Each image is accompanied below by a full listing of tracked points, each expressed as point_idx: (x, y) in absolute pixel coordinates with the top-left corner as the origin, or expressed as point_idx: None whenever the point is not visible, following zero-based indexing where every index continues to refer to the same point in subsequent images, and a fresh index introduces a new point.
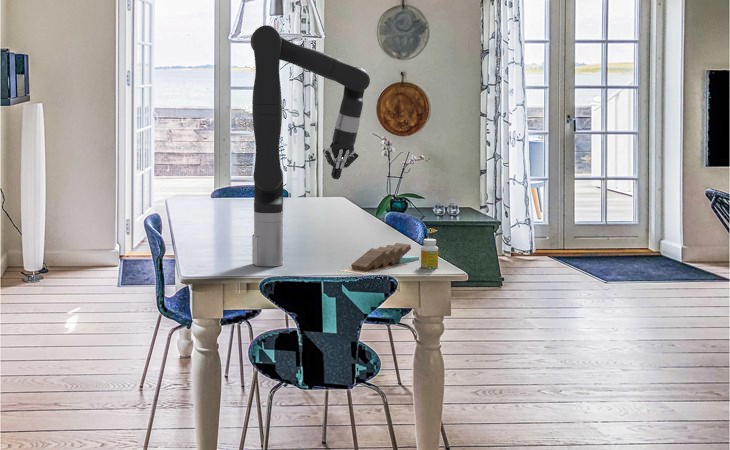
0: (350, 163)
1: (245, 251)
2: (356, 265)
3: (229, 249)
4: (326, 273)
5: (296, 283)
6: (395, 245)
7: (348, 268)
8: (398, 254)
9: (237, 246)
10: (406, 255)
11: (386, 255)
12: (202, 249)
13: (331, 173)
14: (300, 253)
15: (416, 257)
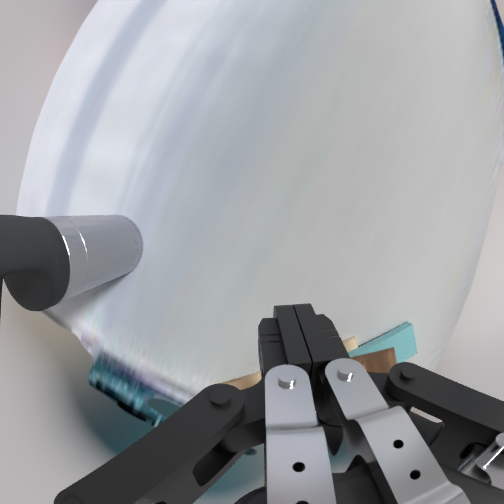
0: (422, 432)
1: (141, 77)
2: None
3: (128, 52)
4: (187, 377)
5: (121, 408)
6: (383, 360)
7: (235, 381)
8: None
9: (158, 25)
10: (409, 331)
11: (315, 409)
12: (93, 48)
13: (258, 333)
14: (237, 135)
15: (409, 357)
